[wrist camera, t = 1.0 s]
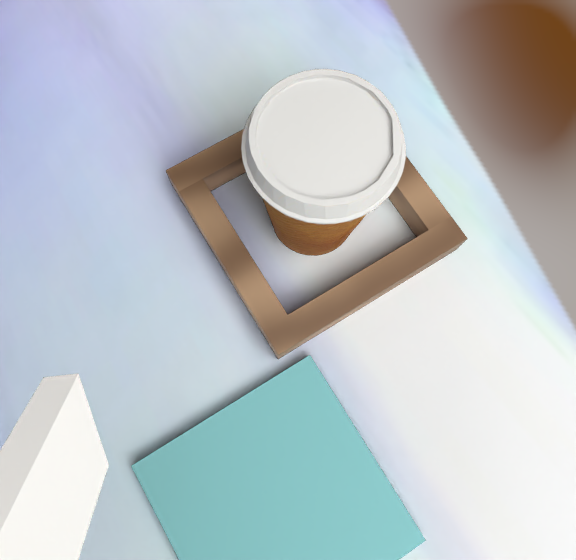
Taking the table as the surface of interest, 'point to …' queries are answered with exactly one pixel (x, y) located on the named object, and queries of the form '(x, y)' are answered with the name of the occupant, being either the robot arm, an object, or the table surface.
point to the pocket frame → (340, 299)
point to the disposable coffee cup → (322, 156)
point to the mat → (277, 481)
